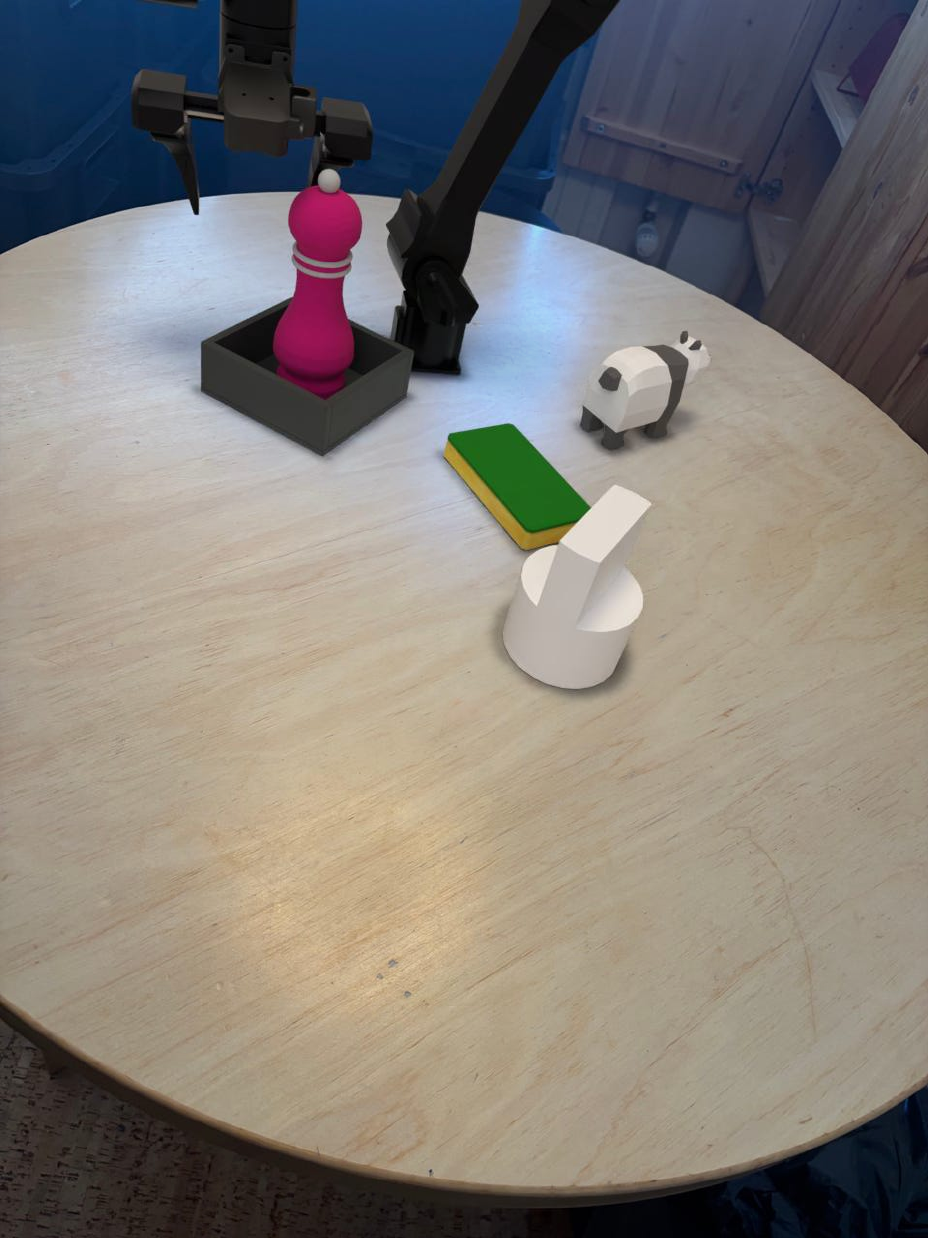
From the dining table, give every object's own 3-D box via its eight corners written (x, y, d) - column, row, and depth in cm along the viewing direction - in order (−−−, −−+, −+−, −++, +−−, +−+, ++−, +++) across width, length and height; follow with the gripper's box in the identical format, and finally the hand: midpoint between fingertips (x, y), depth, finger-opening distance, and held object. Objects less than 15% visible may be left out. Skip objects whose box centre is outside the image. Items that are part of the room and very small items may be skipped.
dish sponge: (506, 443, 90) (512, 421, 88) (589, 535, 82) (598, 513, 80) (441, 454, 86) (446, 432, 84) (522, 552, 79) (529, 529, 77)
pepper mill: (336, 419, 86) (363, 197, 72) (259, 398, 86) (271, 172, 72) (357, 380, 91) (385, 166, 77) (284, 360, 91) (299, 143, 77)
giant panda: (603, 457, 91) (634, 369, 84) (566, 425, 94) (594, 338, 87) (703, 426, 99) (739, 343, 92) (667, 397, 101) (699, 315, 95)
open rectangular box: (294, 340, 95) (297, 293, 92) (406, 396, 92) (414, 350, 88) (200, 391, 86) (200, 341, 82) (322, 456, 83) (327, 407, 79)
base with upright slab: (586, 709, 68) (640, 587, 59) (480, 646, 70) (518, 521, 62) (636, 640, 74) (691, 521, 65) (537, 585, 76) (578, 463, 68)
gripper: (119, 26, 64) (131, 249, 75) (391, 71, 69) (365, 274, 80) (132, -17, 72) (141, 191, 83) (376, 26, 77) (355, 217, 87)
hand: (251, 219), depth 83 cm, fingers open, 9 cm apart
